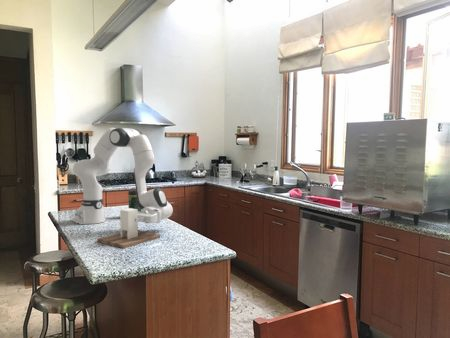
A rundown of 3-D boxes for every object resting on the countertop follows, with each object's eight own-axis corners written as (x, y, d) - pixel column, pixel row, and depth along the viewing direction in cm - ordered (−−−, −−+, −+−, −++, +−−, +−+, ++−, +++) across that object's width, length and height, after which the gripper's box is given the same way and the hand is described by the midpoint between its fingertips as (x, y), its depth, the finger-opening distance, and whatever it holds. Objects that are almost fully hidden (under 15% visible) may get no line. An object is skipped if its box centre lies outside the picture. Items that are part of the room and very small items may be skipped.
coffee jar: (143, 217, 242) (142, 189, 240) (131, 218, 238) (130, 190, 236) (139, 214, 250) (138, 187, 249) (127, 216, 246) (126, 188, 245)
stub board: (97, 241, 184) (97, 232, 184) (133, 231, 204) (133, 223, 204) (124, 248, 173) (123, 239, 173) (160, 237, 193) (160, 229, 193)
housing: (120, 236, 188) (120, 209, 187) (129, 234, 193) (129, 208, 192) (128, 238, 184) (128, 211, 183) (137, 236, 189) (137, 209, 188)
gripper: (135, 207, 205) (115, 210, 193) (162, 211, 193) (142, 215, 182) (135, 218, 205) (115, 222, 194) (162, 223, 194) (142, 228, 182)
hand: (129, 219), depth 188 cm, fingers open, 8 cm apart
